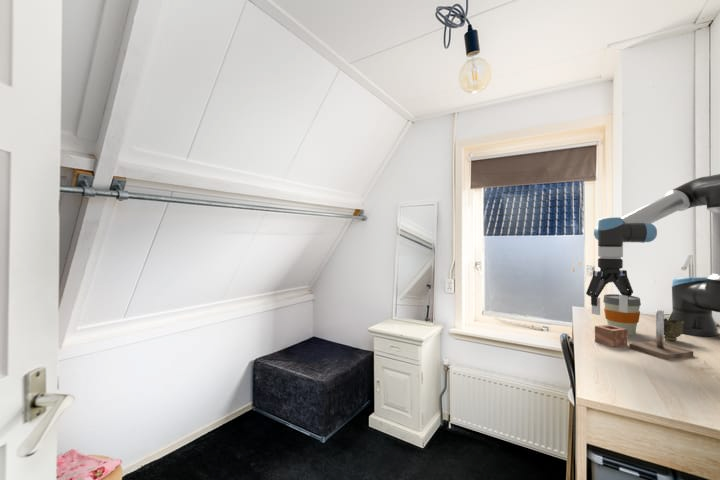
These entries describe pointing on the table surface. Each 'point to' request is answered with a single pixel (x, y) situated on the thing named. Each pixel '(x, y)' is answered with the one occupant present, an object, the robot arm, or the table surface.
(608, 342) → the brown open box
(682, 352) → the brown square board
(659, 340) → the silver metal rod
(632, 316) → the reusable coffee cup
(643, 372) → the table surface
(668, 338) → the cup
